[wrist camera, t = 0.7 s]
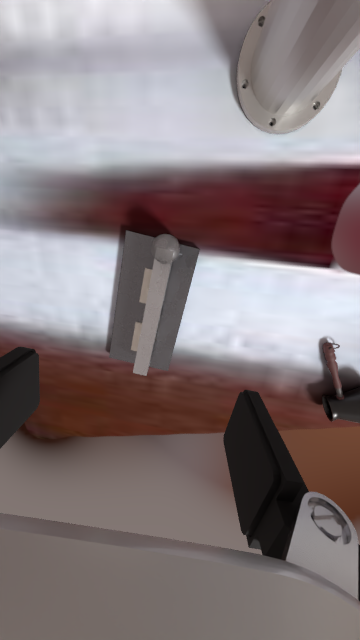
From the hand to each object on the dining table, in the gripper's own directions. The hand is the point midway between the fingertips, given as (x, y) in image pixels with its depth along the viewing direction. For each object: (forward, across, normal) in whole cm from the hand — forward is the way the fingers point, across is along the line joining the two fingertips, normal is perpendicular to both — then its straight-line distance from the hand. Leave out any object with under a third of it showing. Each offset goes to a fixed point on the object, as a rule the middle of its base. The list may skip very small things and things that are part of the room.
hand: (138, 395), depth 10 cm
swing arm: (+28, +2, +4) cm, 28 cm away
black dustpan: (+30, -37, +11) cm, 49 cm away
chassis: (+29, +3, +5) cm, 30 cm away
